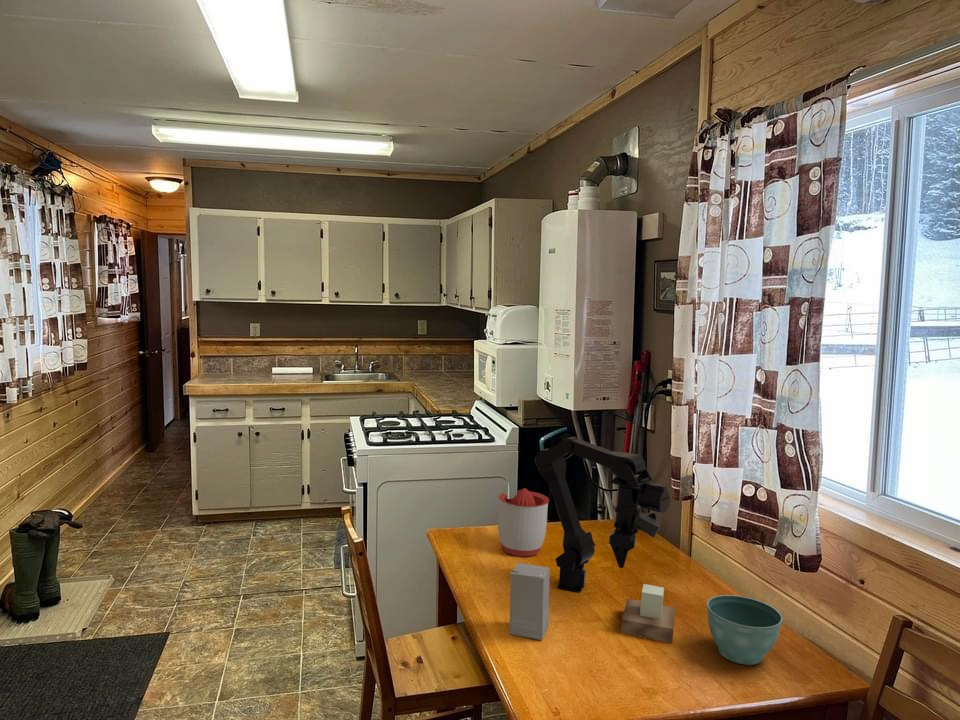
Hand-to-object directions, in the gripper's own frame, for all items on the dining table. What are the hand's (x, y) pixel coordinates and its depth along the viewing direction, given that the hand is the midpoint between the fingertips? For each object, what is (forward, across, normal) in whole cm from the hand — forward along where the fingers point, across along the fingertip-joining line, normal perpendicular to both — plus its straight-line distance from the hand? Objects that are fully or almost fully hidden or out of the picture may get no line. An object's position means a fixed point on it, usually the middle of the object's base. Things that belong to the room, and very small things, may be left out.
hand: (623, 561), depth 179 cm
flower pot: (+12, -14, -29) cm, 34 cm away
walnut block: (+12, -9, -8) cm, 17 cm away
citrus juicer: (+12, +26, +34) cm, 45 cm away
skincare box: (+12, -24, +19) cm, 33 cm away
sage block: (+8, -9, -8) cm, 15 cm away
